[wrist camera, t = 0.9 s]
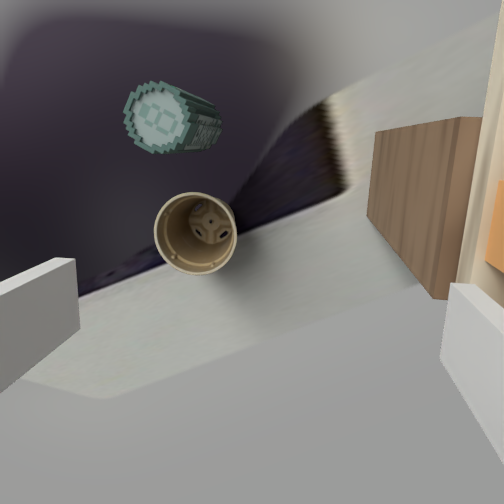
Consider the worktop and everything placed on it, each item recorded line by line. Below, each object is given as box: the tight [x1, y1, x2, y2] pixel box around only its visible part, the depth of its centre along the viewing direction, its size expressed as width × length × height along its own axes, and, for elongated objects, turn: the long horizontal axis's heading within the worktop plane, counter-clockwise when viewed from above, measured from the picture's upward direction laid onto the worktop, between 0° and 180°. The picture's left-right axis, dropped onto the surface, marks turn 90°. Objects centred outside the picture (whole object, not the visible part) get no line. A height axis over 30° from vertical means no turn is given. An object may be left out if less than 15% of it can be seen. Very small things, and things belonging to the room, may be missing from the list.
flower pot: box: [154, 192, 237, 275], centre depth 52 cm, size 9×9×9 cm
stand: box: [367, 117, 483, 300], centre depth 38 cm, size 7×10×30 cm
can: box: [123, 81, 223, 154], centre depth 47 cm, size 6×6×15 cm
